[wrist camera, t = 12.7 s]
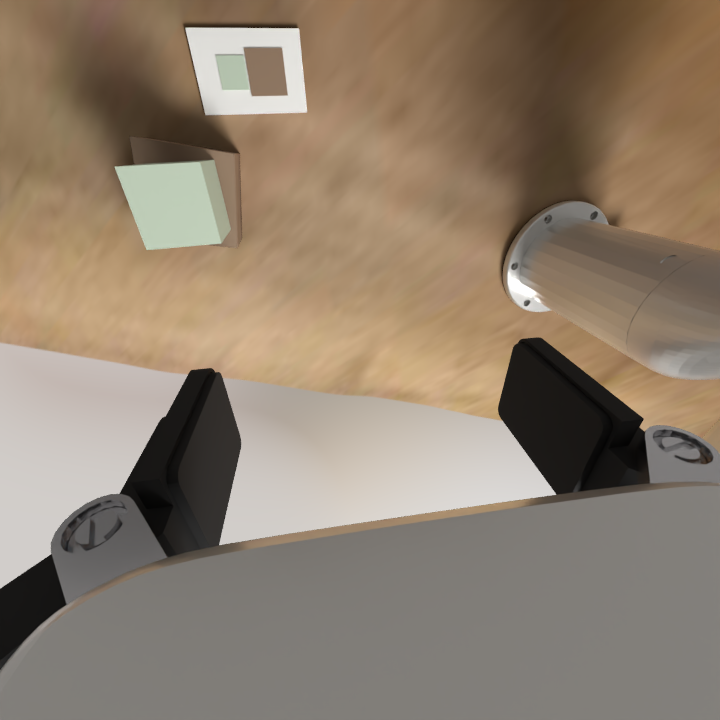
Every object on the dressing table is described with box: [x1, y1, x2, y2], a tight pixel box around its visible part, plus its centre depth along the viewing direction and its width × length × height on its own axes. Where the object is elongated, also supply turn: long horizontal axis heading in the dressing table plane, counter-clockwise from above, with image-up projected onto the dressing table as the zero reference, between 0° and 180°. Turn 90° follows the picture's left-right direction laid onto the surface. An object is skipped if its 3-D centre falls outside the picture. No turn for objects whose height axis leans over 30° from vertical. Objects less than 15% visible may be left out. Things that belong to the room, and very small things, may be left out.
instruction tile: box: [185, 28, 307, 115], centre depth 25 cm, size 8×5×1 cm, turn 92°
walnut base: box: [129, 136, 242, 248], centre depth 28 cm, size 7×7×4 cm
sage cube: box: [115, 160, 231, 250], centre depth 24 cm, size 5×5×5 cm
